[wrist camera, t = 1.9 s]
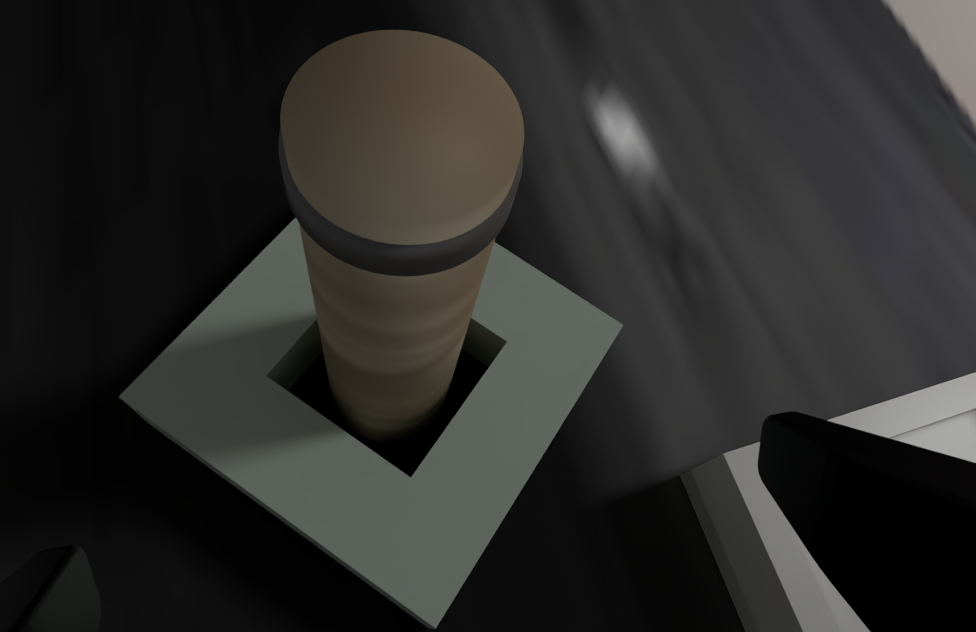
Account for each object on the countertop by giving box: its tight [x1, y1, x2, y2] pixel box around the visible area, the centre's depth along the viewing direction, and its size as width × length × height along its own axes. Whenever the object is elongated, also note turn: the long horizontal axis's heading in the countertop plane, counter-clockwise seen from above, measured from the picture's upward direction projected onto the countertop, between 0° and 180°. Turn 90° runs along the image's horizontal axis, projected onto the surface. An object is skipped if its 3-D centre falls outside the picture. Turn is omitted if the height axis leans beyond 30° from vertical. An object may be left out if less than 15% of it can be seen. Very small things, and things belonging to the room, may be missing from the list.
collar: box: [119, 218, 623, 629], centre depth 20 cm, size 10×10×2 cm
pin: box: [279, 30, 524, 443], centre depth 16 cm, size 4×4×12 cm
